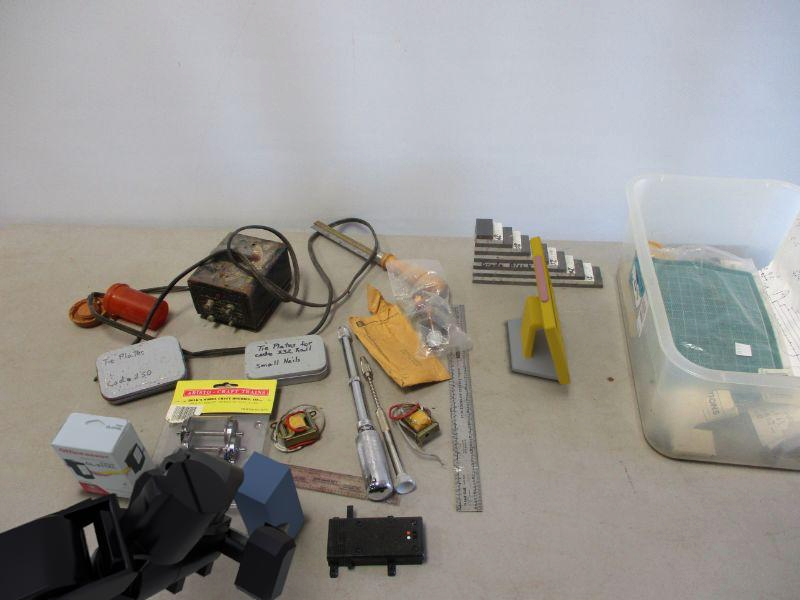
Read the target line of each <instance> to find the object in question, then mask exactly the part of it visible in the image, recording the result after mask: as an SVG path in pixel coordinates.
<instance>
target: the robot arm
mask: <svg viewBox="0 0 800 600" xmlns="http://www.w3.org/2000/svg"><path fill="white" fill-rule="evenodd" d="M241 468H242V467H239V466H237V465H235V464H233V463H231V462H229V461H227V460H224V459H222V458H220V457H219V456H216V455H213V454H210V453H206V452H203V451H200V450H198V449H196V448H194V447H190V448H189V449H186V451H185V452H182V451H176V452H174V453H171V454H169V455H167V456H165V457H164V458H163V460H162V462H161V464H160V465H159V467H156V468H155V469H151V470H148V471H145V472H143V473H141V474H140V475H139V477H138V478H137V479H136V480H135V482H134V486H133V489H132V493H131V496H130V498H128V499H129V500H128V502H127V505H126V506H127V507H121V505H120V501H119V498H118V496H117V494H116V493H111V494H108V495H105V494H104V495H102V496H100V497H97V498H92V497H88V498H85V499H84V500H82V501H81V500H80V502H76V503H74V504H72V505H70V506H68V507H66V508H63V509H60V510H58V511H54V512H51V513H49V514H45V515H43V516H40V517H38V518H34V519H33V520H29V521H27V522H25V523H22V524H20V525H17V526H14V527H12V528H9V529H6V530H4V531H1V532H0V600H148V599H149V598H152V597H153V596H155V595H156V594H159V593H160V592H162V591H164V590H166V591H167V592H169V593H171V594H172V595H174V596H175V595H176V594H178V593H180V592H182V591H183V589H184V585H185V582H186V579H187V578H188V577H189V576H191V575H193V574H197V575H199V576H200V577H202V578H206V577H208V576H209V575H211V574H212V570H213V567H214V564H215V562H216V561H217V560H219V558H220V557H221V556H222V555H224V556H226V557H227V558H229V559H231V560H232V561H234V562H235V563H238V564H239V566H238V569H237V572H236V576H235V579H234V583H233V585H234V587H235V588H236V590H237V591H240V592H242V593H244V594H245V595H247V596H248V597H250V598H252V599H254V600H276V599H278V598H279V597H280V596H281V595H282V594H283V591H284V587H285V585H286V581H287V579H288V574H289V572H290V569H291V565H292V562H293V559H294V555H295V553H296V549H297V543H296V541H295V537H294V538H293V537H291V536H289V535H287V531H288V528H289V525H290V524H289V523H287V522H286V523H282V524H280V525H278V526H276V527H275V526H273V525H271V524H269V523H267V522H265V524H264V526H260V527H258V528H256V529H255V530H254V531H253V533H252V534H251V536H250V535H247V534H245V533H243V532H242V531H239V529H236V528H234V527H232V526H231V524H232V520H233V518H232V517H230V516H229V515H227V514H226V513H227V512H228V511H229V509H230V508H231V505H232V503H233V501H234V497H235V495H236V493H237V491H238V489H239V487H240V486H241V485H242V483H243V481H244V471H243V470H242V469H241ZM90 525H92V526H93V529H94V533H95V538H96V542H97V547H96V548H95V550H94V551H93V553H92V554H91V555H90V550H89V545H88V540H87V536H86V531H85V528H86V527H89V526H90Z"/></svg>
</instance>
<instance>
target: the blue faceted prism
mask: <svg viewBox="0 0 800 600" xmlns="http://www.w3.org/2000/svg"><path fill="white" fill-rule="evenodd" d="M240 468H241V469H242V470H243V471H244V481H243V483H242V485H241V486H240V487H239V489H238V491H237V493H236V495H235V497H234V499H233V501H234V503H235V506H236V508H237V510H238V512H239V515H240V517H241V519H242V522H243V524H244V526H245V528H246V530H247V531H246V532H247V533H248V536H249V537H250V536H251V534H252V533H253V531H254V530H255V529H256V528H258V527H260V526H264V524H265V522H267V523H269V524H271V525H273V526H275V527H276V526H278V525H280V524H282V523H286V522H287V523H289V524H290V525H289V528H288V531H287V535H289V536H291V537H293V538H294V539H295V538H296V536H297V534H298V532H299V531H300V530H301V528H302V526H303V524H304V523H305V521H306V517H305V515H304V511H303V508H302V504H301V501H300V497H299V493H298V490H297V487H296V483H295V480H294V476H293V473H292V472H293V471H292V469H291V466H288V465H286V464H284V463H281V462H280V461H277V460H276V459H273V458H271V457H269V456H266V455H264V454H262V453H260V452H257V451H255V450H254V451H253V452H252V454H251V455H250V456H249V458H248V459H247V460H246V462H245V463H244V465H243V466H241V467H240Z"/></svg>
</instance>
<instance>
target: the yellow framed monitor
mask: <svg viewBox="0 0 800 600" xmlns="http://www.w3.org/2000/svg"><path fill="white" fill-rule="evenodd" d="M529 244H530V250H531V256H532V263H533V269H534V275H535V282H536V287H537V295H530V296H528V297H527V298H526V299H525V304H524V310H523V314H522V317H521V318H520V317H519V318H515V319H514V318H512V319H508V320H507V332H508V333H507V334H508V343H509V352H510V361H511V363H510V365H511V371H512V372H514V373H517V374H523V375H528V376H534V377H539V378H542V379H543V378H544V379H550V380H554V381H558V382H559V385H560V386H564V385H568V384H571V382H572V381H571V375H570V371H569V370H570V369H569V366H568V360H567V354H566V349H565V344H564V338H563V333H562V328H561V321H560V318H559V311H558V307H557V300H556V295H555V291H554V287H553V282H552V279H551V275H550V270H549V267H548V264H547V259H546V254H545V252H544V248H543V244H542V239H541V237H540V236H534V237H531V238H530V239H529Z"/></svg>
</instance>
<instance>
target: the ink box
mask: <svg viewBox="0 0 800 600" xmlns="http://www.w3.org/2000/svg"><path fill="white" fill-rule="evenodd" d="M49 445H50V446H51V448H52V449H53V450H54V451H55V453H56V454H57V455H58V457H59V458H60V459H61V461H62V462H63V464H64V465H65V466H66V468H67V469H68V470H69V472H70V473H71V474H72V476H73V477H74V478H75V480H76V481H77V483H78V484H79V485H80V486H81V488H82V489H83V490H84V492H86V493H92V494H99V495H104V496H105V495H108V494H111V493H116V494H117V498H118V497H119V498H125V499H130V496H131V493H132V489H133V486H134V482H135V480H136V479H137V478H138V477H139V475H140V474H141V473H143V472H145V471H148V470H151V469H155V468H157V466H156V465H155V463H154V461H153V460H152V458H151V456H150V454H149V452H148V450H147V449H146V447H145V446H144V444H143V441H142V439H141V438H140V436H139V435H138V433H137V431H136V430H135V427H134V426H133V424H132V422H131V421H130V420H127V419H125V418H119V417H113V416H111V417H110V416H104V415H97V414H96V415H95V414H89V413H84V412H83V413H82V412H77V411H76V412H72V413H69V414H68V415H67V417H66V418H65V419H64V421H63V422H62V424H61V426H60V427H59V428H58V430H57V431H56V432H55V435H54V436H53V438H52V439H51V441H50V443H49Z"/></svg>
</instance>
